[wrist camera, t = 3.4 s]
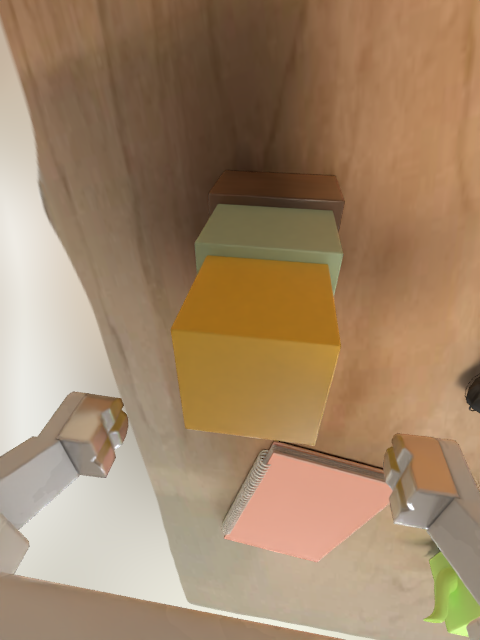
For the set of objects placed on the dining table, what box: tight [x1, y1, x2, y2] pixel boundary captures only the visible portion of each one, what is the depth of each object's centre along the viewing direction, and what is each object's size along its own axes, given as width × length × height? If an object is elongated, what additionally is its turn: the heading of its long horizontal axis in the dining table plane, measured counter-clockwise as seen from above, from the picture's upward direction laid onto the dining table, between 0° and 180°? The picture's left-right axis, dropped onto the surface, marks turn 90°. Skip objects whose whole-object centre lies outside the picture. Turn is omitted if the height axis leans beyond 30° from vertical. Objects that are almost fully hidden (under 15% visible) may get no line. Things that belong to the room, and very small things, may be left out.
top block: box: [171, 255, 341, 445], centre depth 13 cm, size 5×5×5 cm
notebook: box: [221, 441, 393, 562], centre depth 46 cm, size 27×17×2 cm, turn 166°
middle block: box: [195, 204, 343, 297], centre depth 17 cm, size 6×6×5 cm
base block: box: [208, 170, 345, 233], centre depth 21 cm, size 7×7×5 cm
